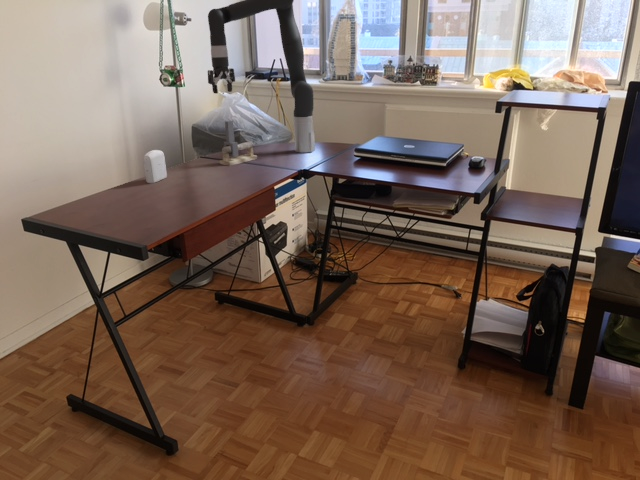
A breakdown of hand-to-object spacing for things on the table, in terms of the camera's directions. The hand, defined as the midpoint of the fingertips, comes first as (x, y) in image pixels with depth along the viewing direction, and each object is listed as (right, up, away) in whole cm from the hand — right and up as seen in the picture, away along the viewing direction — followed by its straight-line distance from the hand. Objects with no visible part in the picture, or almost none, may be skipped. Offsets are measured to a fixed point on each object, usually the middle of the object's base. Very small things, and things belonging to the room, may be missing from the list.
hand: (222, 92), depth 255 cm
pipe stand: (+8, -32, -1) cm, 33 cm away
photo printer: (-22, -45, -31) cm, 58 cm away
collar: (+5, -30, -5) cm, 31 cm away
